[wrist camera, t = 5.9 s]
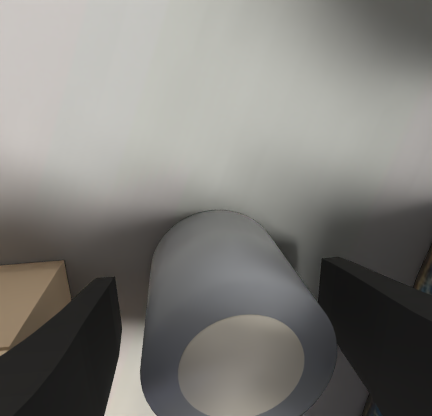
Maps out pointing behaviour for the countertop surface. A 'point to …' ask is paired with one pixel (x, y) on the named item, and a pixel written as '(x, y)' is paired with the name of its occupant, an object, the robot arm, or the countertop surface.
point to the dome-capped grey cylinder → (231, 324)
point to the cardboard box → (30, 298)
